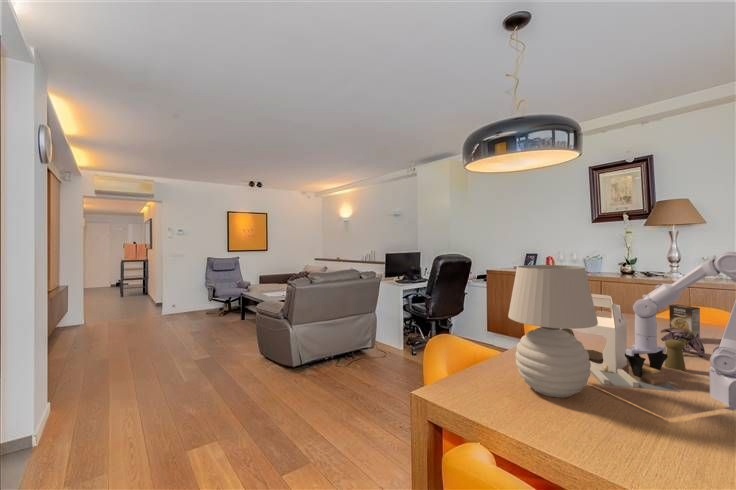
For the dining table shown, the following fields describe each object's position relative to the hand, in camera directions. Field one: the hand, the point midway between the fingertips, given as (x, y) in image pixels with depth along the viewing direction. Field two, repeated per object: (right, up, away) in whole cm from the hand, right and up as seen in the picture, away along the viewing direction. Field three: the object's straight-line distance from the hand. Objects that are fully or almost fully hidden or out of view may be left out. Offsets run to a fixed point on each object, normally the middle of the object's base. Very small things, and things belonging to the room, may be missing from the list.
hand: (646, 375), depth 111 cm
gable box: (-7, -3, +19) cm, 20 cm away
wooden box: (0, -2, 0) cm, 2 cm away
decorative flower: (+38, -2, +27) cm, 47 cm away
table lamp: (-34, -4, -4) cm, 35 cm away
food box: (+58, -2, +47) cm, 75 cm away
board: (-5, -3, 0) cm, 6 cm away
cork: (+20, -3, +11) cm, 22 cm away
